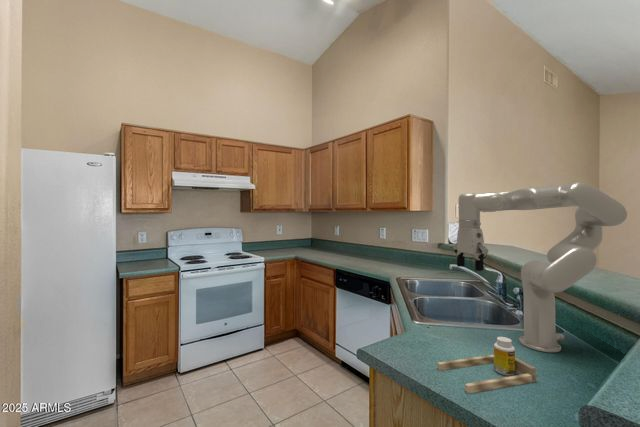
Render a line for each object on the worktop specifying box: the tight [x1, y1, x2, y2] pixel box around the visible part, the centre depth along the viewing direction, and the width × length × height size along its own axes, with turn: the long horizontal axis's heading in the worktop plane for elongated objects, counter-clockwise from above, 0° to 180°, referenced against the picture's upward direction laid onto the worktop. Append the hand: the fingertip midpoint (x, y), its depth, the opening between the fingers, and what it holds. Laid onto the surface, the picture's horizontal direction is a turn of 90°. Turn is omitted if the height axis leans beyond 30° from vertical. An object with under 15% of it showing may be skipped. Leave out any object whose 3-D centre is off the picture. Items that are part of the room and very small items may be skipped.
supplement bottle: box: [493, 336, 516, 377], centre depth 91 cm, size 6×6×10 cm
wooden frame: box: [436, 354, 538, 394], centre depth 89 cm, size 24×13×4 cm, turn 104°
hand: (469, 268), depth 114 cm, fingers open, 9 cm apart
